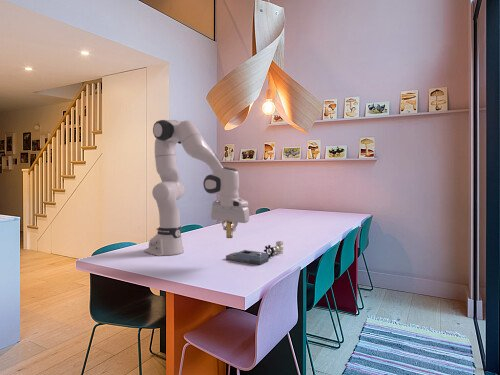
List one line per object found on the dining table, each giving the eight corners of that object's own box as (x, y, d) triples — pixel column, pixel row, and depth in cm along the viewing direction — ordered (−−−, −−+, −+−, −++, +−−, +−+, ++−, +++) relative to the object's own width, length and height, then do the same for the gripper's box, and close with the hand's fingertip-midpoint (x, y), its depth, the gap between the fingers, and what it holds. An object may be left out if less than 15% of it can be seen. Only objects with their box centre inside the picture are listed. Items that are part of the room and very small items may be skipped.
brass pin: (223, 237, 160) (223, 218, 160) (228, 236, 163) (228, 218, 163) (230, 238, 158) (230, 219, 158) (235, 237, 161) (235, 218, 161)
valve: (276, 252, 185) (263, 256, 175) (276, 240, 184) (263, 244, 175) (286, 254, 181) (274, 258, 171) (286, 241, 180) (274, 245, 171)
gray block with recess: (226, 259, 170) (225, 250, 170) (235, 256, 177) (235, 247, 177) (260, 265, 159) (260, 255, 159) (268, 261, 166) (268, 252, 166)
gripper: (208, 200, 163) (208, 229, 164) (243, 203, 152) (243, 234, 153) (216, 199, 168) (216, 227, 169) (251, 202, 157) (250, 232, 158)
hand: (229, 230), depth 161 cm, fingers closed on brass pin, 3 cm apart
